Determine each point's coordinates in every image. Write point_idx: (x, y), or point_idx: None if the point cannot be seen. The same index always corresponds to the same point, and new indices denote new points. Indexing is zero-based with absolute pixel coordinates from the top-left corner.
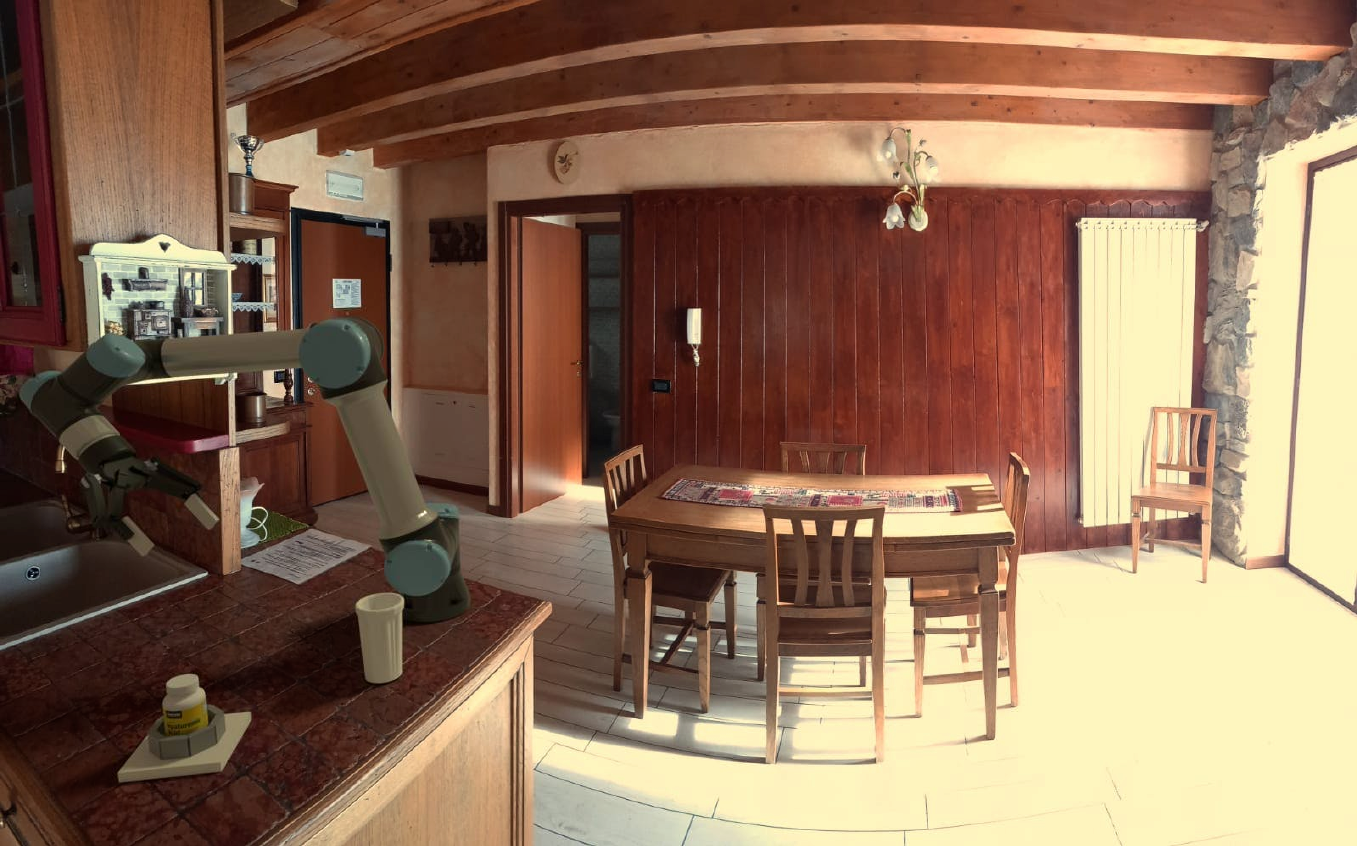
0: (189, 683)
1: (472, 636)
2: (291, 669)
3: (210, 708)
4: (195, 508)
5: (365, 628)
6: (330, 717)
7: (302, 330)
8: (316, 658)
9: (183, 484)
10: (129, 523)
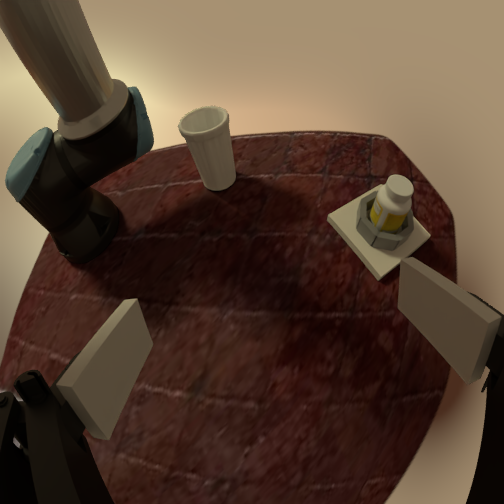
0: (398, 175)
1: (140, 169)
2: (237, 260)
3: (364, 214)
4: (113, 381)
5: (227, 136)
6: (291, 172)
7: None
8: (207, 254)
9: (31, 443)
10: (478, 300)
